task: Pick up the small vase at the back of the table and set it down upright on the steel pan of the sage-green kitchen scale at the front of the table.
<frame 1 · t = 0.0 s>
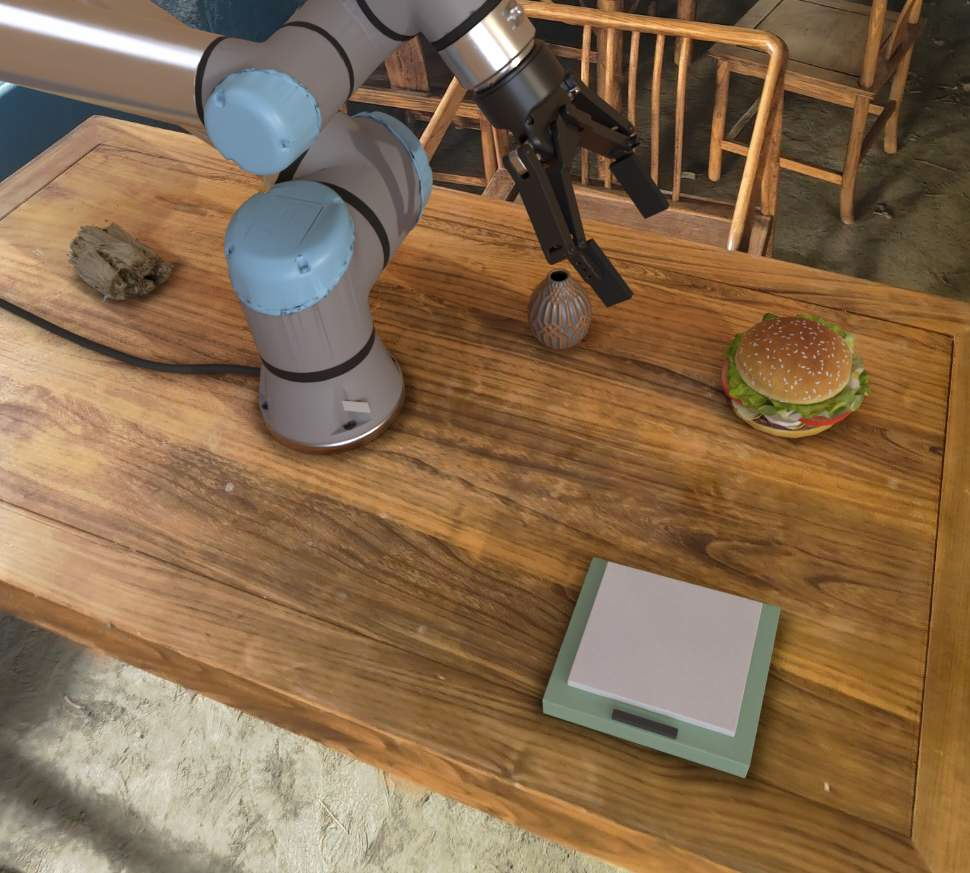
hand: (639, 254, 87), 15 cm above the table, tool tilted 35°, fingers open, 13 cm apart
food: (788, 399, 94), on the table
scale: (662, 666, 76), on the table
vase: (560, 338, 103), on the table
grey-brown fibrous clump: (125, 279, 115), on the table
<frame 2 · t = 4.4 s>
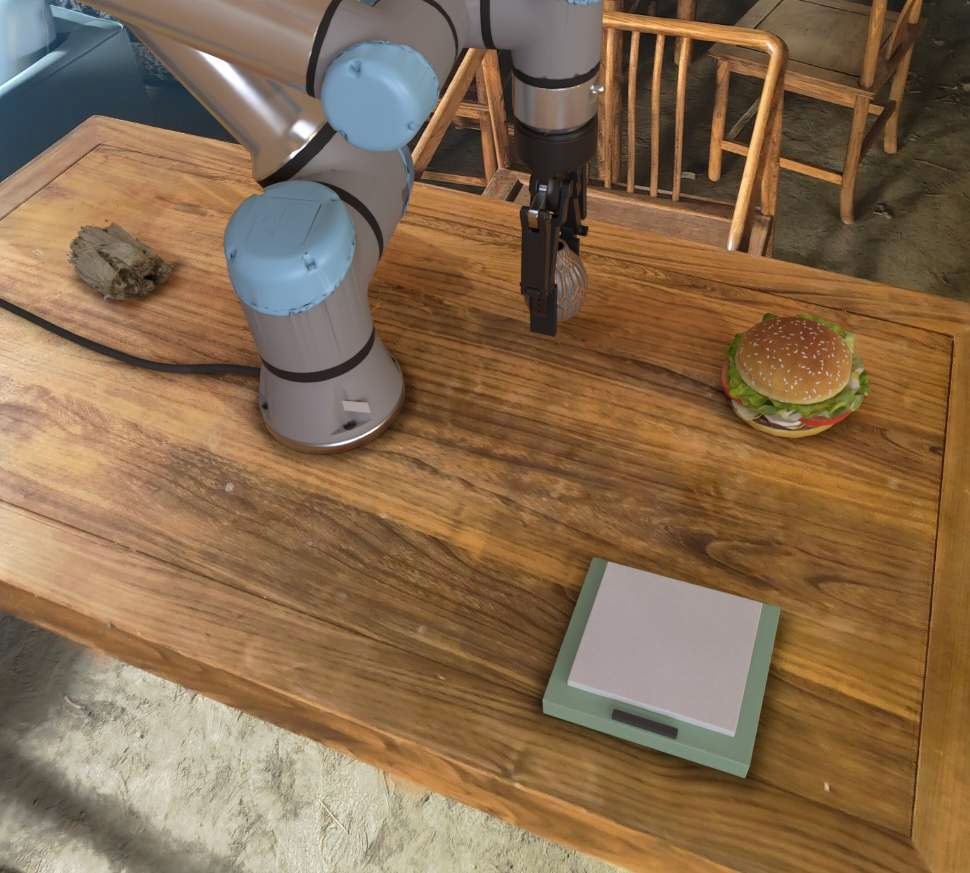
hand: (554, 308, 99), 4 cm above the table, tool pointing down, fingers closed on vase, 7 cm apart
vase: (554, 311, 100), point 4 cm above the table, touching gripper
everything else where it was.
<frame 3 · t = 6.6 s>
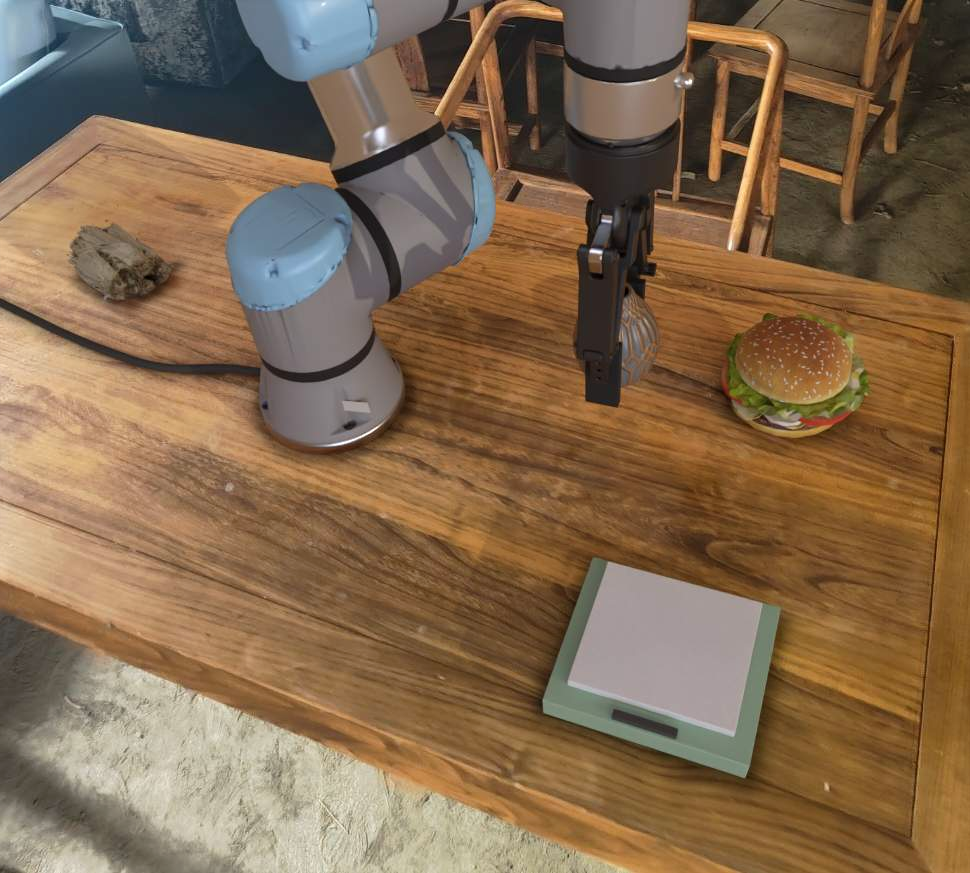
hand: (614, 369, 77), 15 cm above the table, tool pointing down, fingers closed on vase, 7 cm apart
vase: (614, 372, 78), point 15 cm above the table, touching gripper
everything else where it was.
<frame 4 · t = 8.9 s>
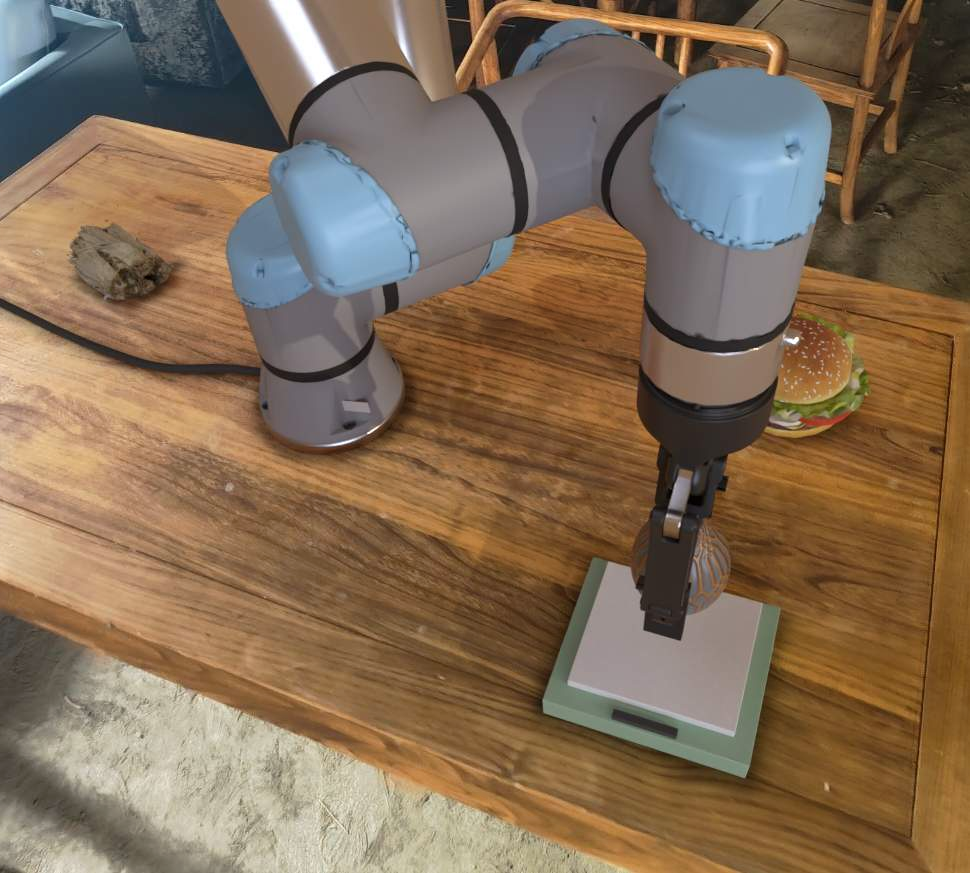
hand: (675, 586, 68), 11 cm above the table, tool pointing down, fingers closed on vase, 7 cm apart
vase: (676, 590, 68), point 11 cm above the table, touching gripper
everything else where it was.
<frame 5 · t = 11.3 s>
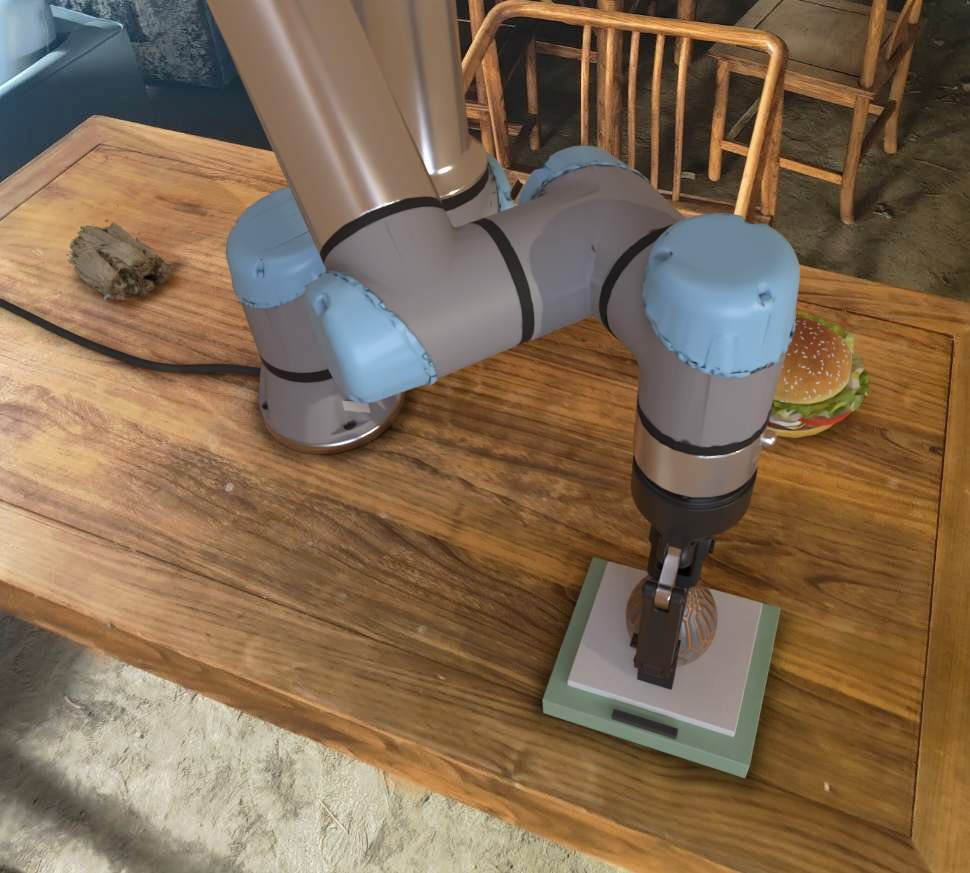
hand: (667, 638, 74), 4 cm above the table, tool pointing down, fingers closed on vase, 7 cm apart
vase: (667, 641, 74), point 3 cm above the table, touching gripper
everything else where it was.
when the fingers open (4 cm above the table, at t = 13.5 s): vase stays where it is, resting on scale.
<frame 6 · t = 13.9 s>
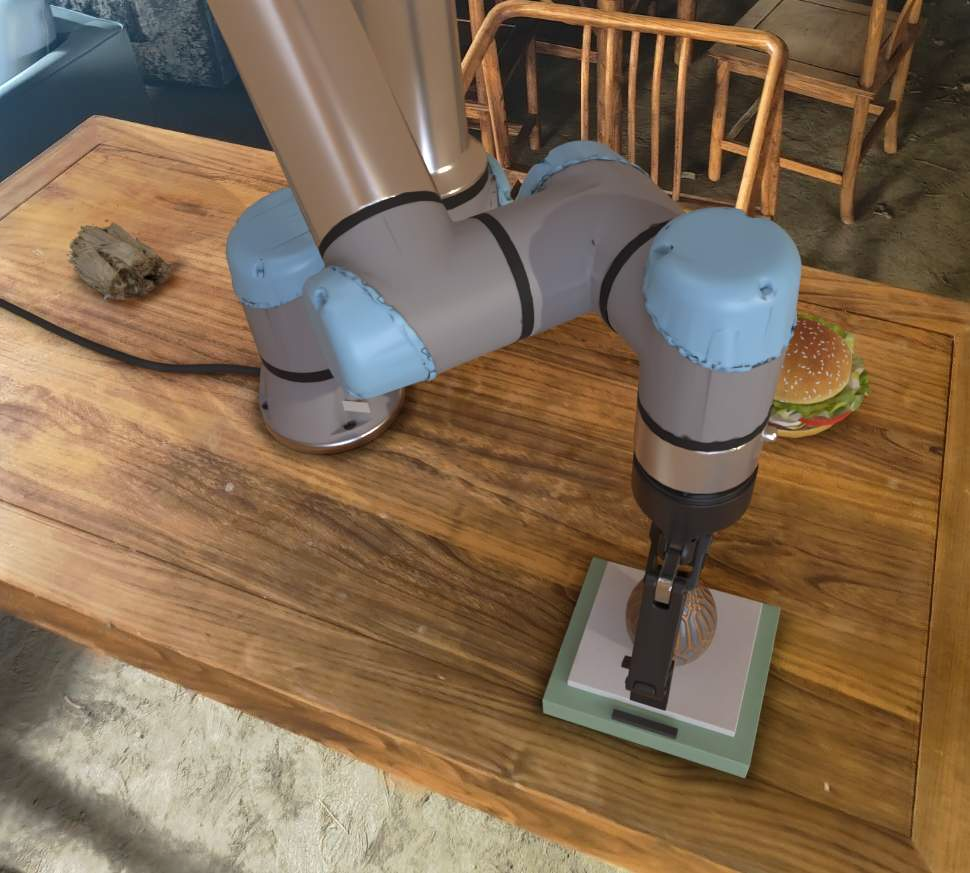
hand: (669, 627, 72), 5 cm above the table, tool pointing down, fingers open, 12 cm apart
vase: (667, 641, 74), point 3 cm above the table, touching scale
everything else where it was.
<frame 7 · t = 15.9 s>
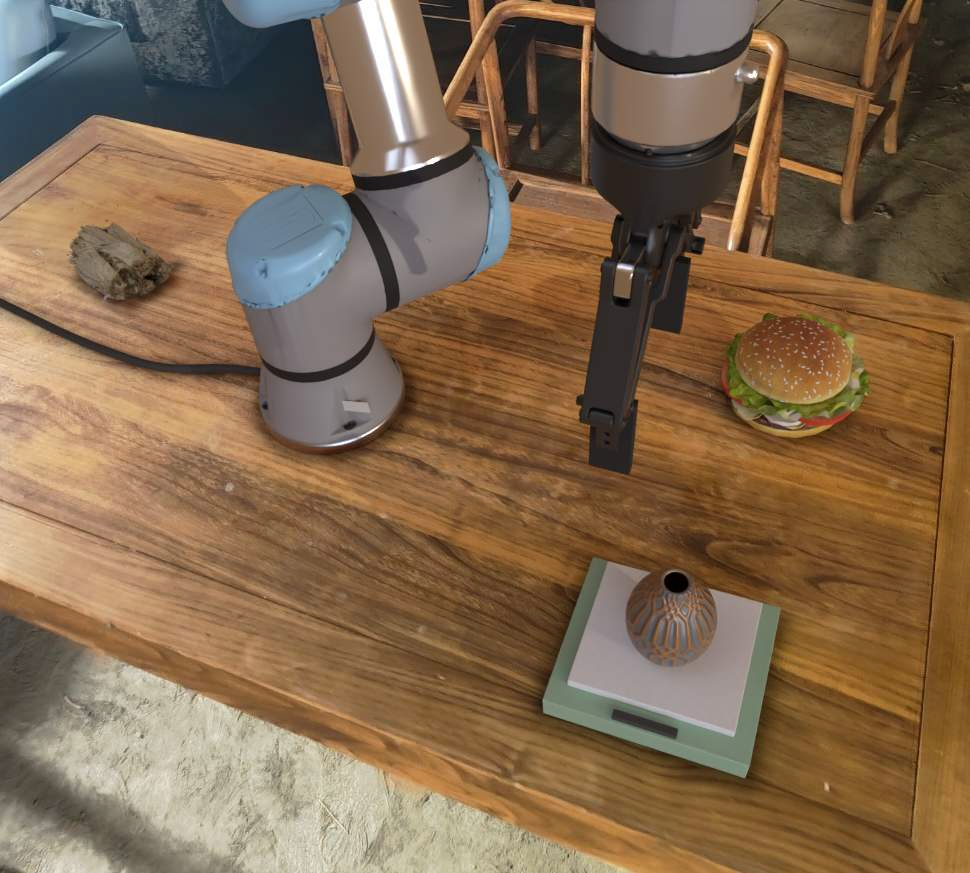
hand: (637, 392, 64), 23 cm above the table, tool pointing down, fingers open, 13 cm apart
nothing on the table moved.
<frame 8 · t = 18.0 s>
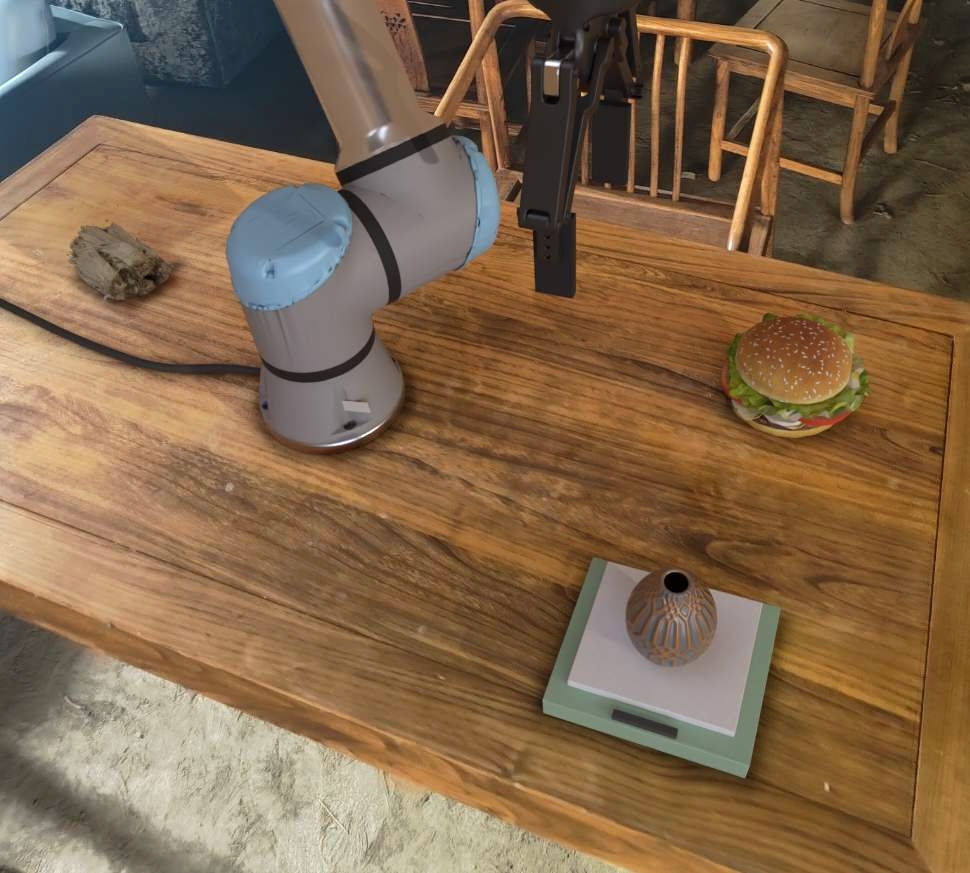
hand: (584, 233, 68), 29 cm above the table, tool pointing down, fingers open, 13 cm apart
nothing on the table moved.
at the end: vase inside the target area on the scale (0.2 cm from its centre), point 3.1 cm above the scale's base; vase tilted 0°; the gripper is holding nothing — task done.
